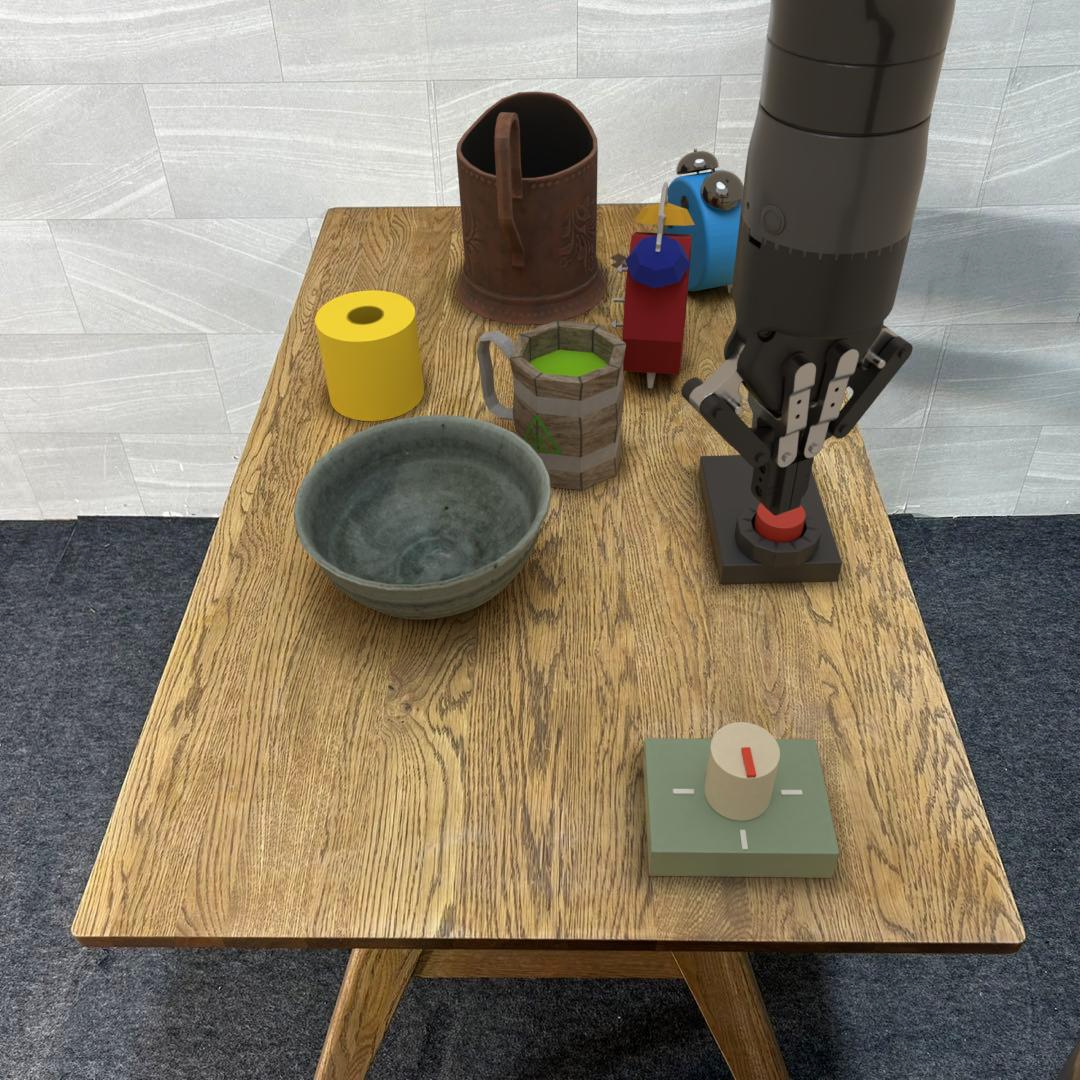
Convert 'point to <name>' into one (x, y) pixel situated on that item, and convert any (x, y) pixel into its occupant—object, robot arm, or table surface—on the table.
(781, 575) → the button box
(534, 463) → the bowl
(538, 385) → the mug
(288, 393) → the table surface
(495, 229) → the tea glass holder
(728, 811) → the dial knob
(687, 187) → the alarm clock
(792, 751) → the dial panel
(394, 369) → the yellow toilet paper roll
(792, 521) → the button
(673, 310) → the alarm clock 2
